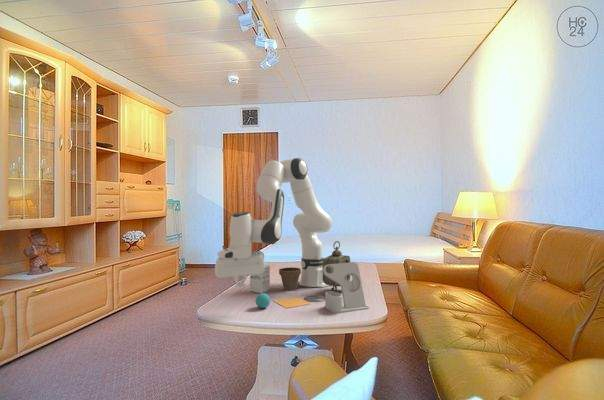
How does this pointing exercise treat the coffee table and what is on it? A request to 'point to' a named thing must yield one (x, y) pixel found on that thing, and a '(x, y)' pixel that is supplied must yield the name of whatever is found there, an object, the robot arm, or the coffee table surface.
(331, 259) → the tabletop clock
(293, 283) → the flower pot
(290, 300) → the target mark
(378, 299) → the coffee table surface
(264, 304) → the ball
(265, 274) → the supplement box
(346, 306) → the grey coffee machine
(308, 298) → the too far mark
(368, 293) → the coffee table surface
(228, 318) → the coffee table surface
